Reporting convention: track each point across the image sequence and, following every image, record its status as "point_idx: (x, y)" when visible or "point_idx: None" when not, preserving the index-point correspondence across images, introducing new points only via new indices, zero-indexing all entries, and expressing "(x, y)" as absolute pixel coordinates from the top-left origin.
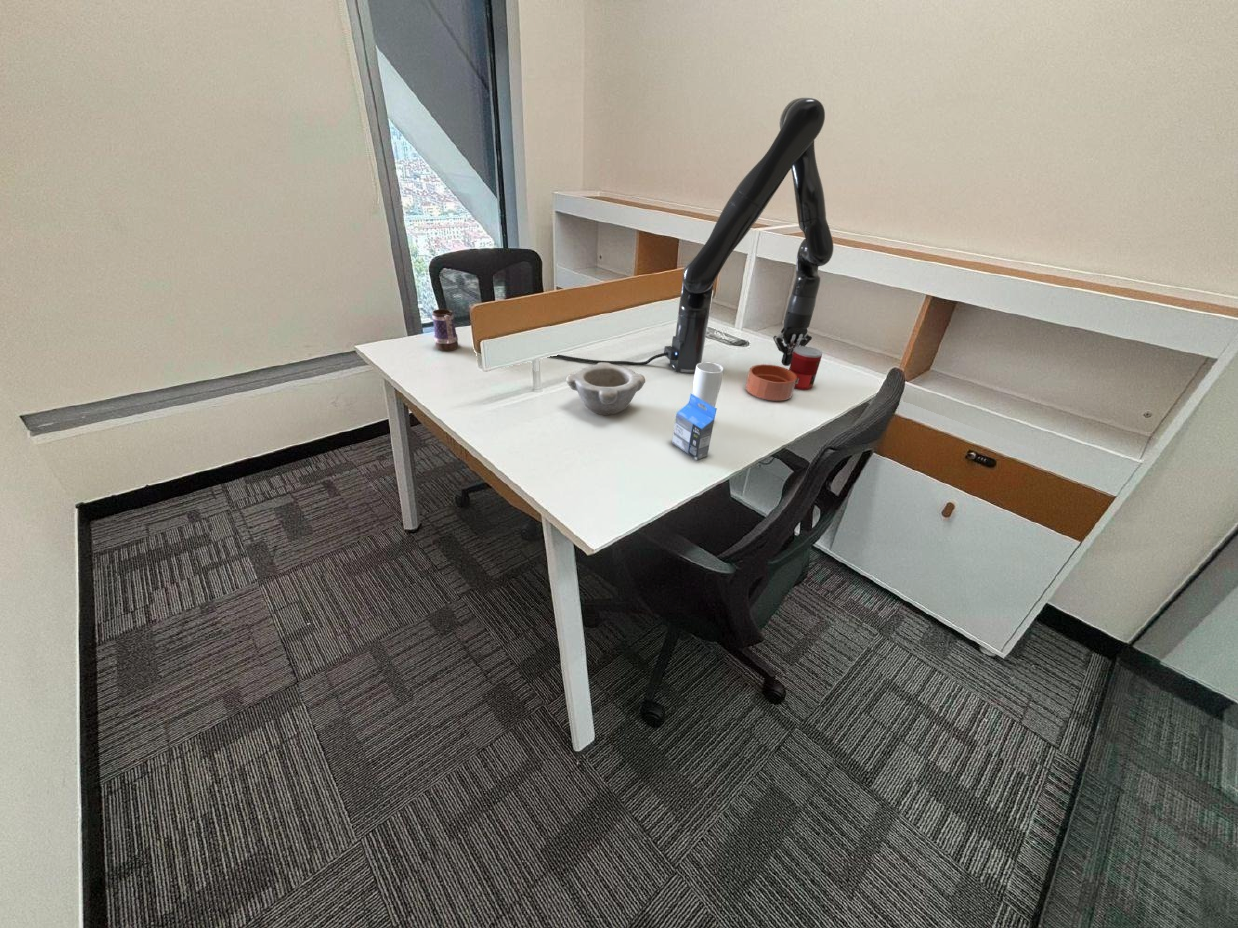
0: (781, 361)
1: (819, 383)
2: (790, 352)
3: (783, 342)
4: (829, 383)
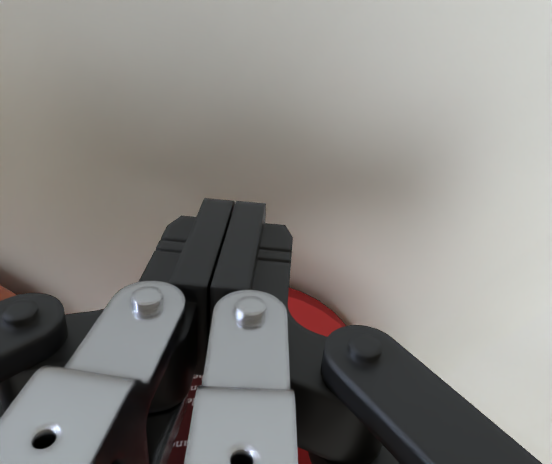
0: (170, 224)
1: (455, 380)
2: (177, 416)
3: (20, 395)
4: (537, 400)
